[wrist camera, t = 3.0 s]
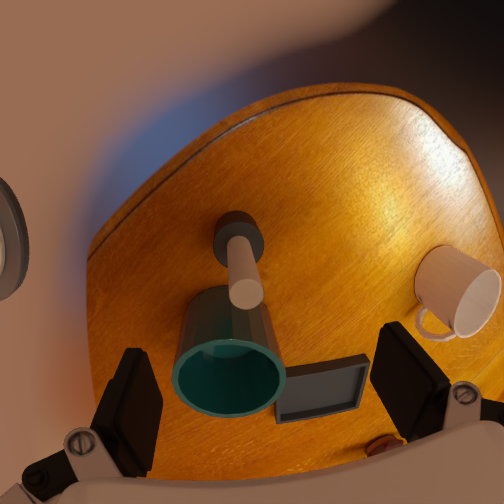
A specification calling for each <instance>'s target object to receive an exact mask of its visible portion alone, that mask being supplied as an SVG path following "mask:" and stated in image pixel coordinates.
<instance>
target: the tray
mask: <svg viewBox="0 0 504 504" xmlns="http://www.w3.org/2000/svg"><path fill="white" fill-rule="evenodd" d="M369 366H370V361H369V359H368V358H367V356H366V354H362V355H357V356H352V357H347V358H342V359H337V360H332V361H326V362H321V363H315V364H309V365H302V366H296V367H289V368H285V370H286V384H285V387H284V389H283V391H282V393H281V395H280V396H279V397H278V398H277V399H276V400H275V401H274V407H275V419H276V424H282V423H289V422H295V421H301V420H307V419H312V418H318V417H323V416H327V415H332V414H337V413H341V412H345V411H349V410H353V409H357V408H359V404H360V401H361V397H362V393H363V390H364V386H365V382H366V378H367V374H368V370H369Z"/></svg>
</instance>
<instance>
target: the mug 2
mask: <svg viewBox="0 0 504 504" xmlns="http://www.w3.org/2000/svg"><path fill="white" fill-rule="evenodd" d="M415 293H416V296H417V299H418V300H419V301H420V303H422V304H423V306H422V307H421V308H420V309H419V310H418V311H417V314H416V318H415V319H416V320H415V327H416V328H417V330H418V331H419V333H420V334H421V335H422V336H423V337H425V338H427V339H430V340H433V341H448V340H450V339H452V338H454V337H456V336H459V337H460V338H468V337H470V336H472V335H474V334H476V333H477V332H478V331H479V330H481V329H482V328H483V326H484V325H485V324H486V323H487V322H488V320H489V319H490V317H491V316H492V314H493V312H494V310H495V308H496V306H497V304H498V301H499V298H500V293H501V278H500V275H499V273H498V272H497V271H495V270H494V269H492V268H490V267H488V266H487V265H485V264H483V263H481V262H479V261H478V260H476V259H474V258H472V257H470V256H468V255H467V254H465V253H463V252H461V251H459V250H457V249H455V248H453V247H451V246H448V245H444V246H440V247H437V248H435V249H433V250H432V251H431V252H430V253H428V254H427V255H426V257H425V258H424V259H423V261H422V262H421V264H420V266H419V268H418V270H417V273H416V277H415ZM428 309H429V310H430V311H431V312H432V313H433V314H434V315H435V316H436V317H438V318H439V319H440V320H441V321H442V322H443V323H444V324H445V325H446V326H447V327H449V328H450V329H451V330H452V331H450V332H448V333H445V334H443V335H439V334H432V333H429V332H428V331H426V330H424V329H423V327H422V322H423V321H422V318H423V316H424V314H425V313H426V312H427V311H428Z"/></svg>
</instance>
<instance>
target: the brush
mask: <svg viewBox="0 0 504 504" xmlns="http://www.w3.org/2000/svg"><path fill="white" fill-rule="evenodd" d="M213 250H214V254H215V256H216V258H217V260H218V261H219V262H220V263H221V264H222V265H223V266H225V267H227V268H228V282H229V298H230V300H231V302H232V303H233V305H235V306H236V307H238V308H240V309H252V308H254V307H256V306H257V305H259V304H260V302H261V301H262V299H263V296H264V290H263V287H262V283H261V280H260V276H259V273H258V270H257V266H256V263H257V262H258V261H259V260H260V258H261V256H262V254H263V251H264V240H263V237H262V235H261V233H260V230H259V228H258V226H257V224H256V222H255V220H254V219H253V218H252V217H251V216H250V215H249V214H247V213H245V212H242V211H231V212H228V213H226V214H224V215H223V216H222V217H221V218H220V219H219V220H218V222H217V224H216V227H215V233H214V242H213Z"/></svg>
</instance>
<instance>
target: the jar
mask: <svg viewBox="0 0 504 504" xmlns="http://www.w3.org/2000/svg"><path fill="white" fill-rule="evenodd" d="M171 381H172V384H173V387H174V390H175V393H176V394H177V395H178V396H179V398H180V399H181V400H182V401H183V402H184V403H185V404H186V405H188V406H189V407H191V408H192V409H194V410H195V411H198V412H200V413H203V414H206V415H209V416H214V417H221V418H236V417H244V416H248V415H251V414H254V413H257V412H259V411H261V410H263V409H265V408H267V407H268V406H270V405H271V404H272V403H273V402H274V401H275V400H276V399H277V398H278V397H279V396H280V395H281V393H282V391H283V389H284V387H285V384H286V370H285V366H284V363H283V359H282V356H281V352H280V349H279V345H278V342H277V338H276V335H275V331H274V328H273V324H272V321H271V318H270V315H269V312H268V310H267V307H266V306H265V304H264V303H263V302H262V301H261V302H260V304H259V305H257V306H256V307H254V308H252V309H240V308H238V307H236V306H235V305H233V303H232V302H231V300H230V298H229V286H220V287H214V288H210V289H208V290H206V291H204V292H202V293H200V294H199V295H197V296H196V297H195V298H194V299H193V300H192V301H191V302H190V303H189V305H188V306H187V308H186V311H185V313H184V316H183V321H182V326H181V330H180V335H179V340H178V345H177V350H176V355H175V360H174V365H173V371H172V379H171Z"/></svg>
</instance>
